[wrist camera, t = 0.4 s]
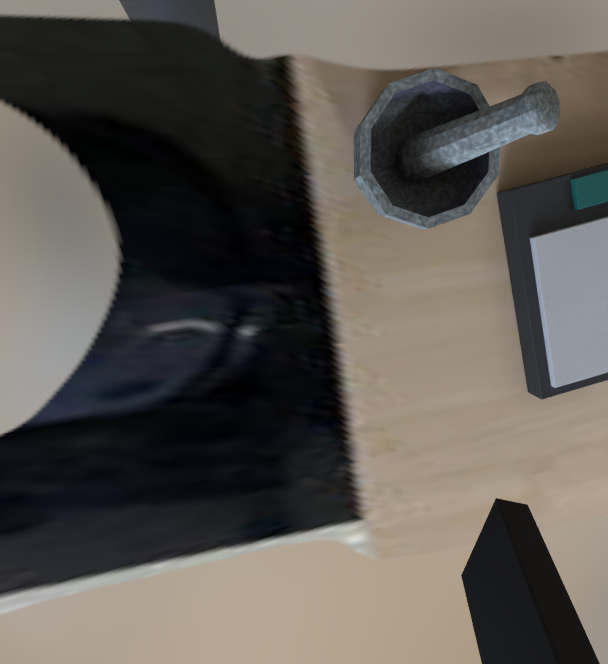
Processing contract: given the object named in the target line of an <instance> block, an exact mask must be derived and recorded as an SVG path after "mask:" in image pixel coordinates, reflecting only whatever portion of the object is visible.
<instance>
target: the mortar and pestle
mask: <svg viewBox="0 0 608 664" xmlns="http://www.w3.org/2000/svg"><path fill="white" fill-rule="evenodd" d="M559 116H560V107H559V100H558V97H557V94H556V91H555V90H554V89H553V88H552V87H551V86H550V85H549V84H548V83H547V82H546V81H543V82H539V83H535V84H533V85H530V86H528V87H527V88H526V90H525V91H524V92H523V94H522V95H519V96H516V97H514V98H511V99H508V100H506V101H503V102H501V103H498V104H495V105H493V106H489V105H488V103H487V101H486V99H485V98H484V96H483V94H482V92H481V91H480V89H479V87H478V85H476V84H474V83H471V82H469V81H466V80H464V79H461V78H459V77H456V76H453V75H451V74H448V73H446V72H443V71H441V70H438V69H436V68H432V69H429V70H426V71H423V72H420V73H417V74H414V75H412V76H409V77H406V78H403V79H400V80H397V81H394V82H391V83H389V84H388V85H387V86H386V87H385V88H384V89H383V91H382V92H381V94H380V95H379V97H378V98H377V100H376V101H375V103H374V104H373V106H372V107H371V108H370V110H369V111H368V113H367V114H366V116H365V117H364V119H363V120H362V122H361V123H360V125H359V126H358V128H357V129H356V132H355V136H354V181H355V182H356V183H357V185H358V186H359V188H360V189H361V191H362V192H363V194H364V195H365V197H366V198H367V200H368V201H369V203H370V204H371V206H372V207H373V208H374V210H375V211H376V213H377V214H379V215H381V216H384V217H387V218H390V219H393V220H396V221H399V222H402V223H405V224H408V225H411V226H414V227H417V228H420V229H428V228H431V227H434V226H437V225H439V224H442V223H445V222H448V221H451V220H454V219H456V218H459V217H462V216H465V215H468V214H470V213H471V212H472V210H473V209H474V208H475V206H476V205H477V203H478V202H479V201H480V199H481V198H482V197H483V195H484V194H485V192H486V191H487V190H488V188H489V187H490V185H491V184H492V183H493V181H494V180H495V179H496V177H497V176H498V166H499V151H500V147H501V146H503V145H506V144H508V143H510V142H513V141H515V140H517V139H520V138H522V137H524V136H526V135H529V134H535V135H540V134H543V133H546V132H548V131H551V130H553V129H554V128H555V127H556V125H557V122H558V119H559Z"/></svg>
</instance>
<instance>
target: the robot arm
mask: <svg viewBox="0 0 608 664" xmlns="http://www.w3.org/2000/svg"><path fill="white" fill-rule="evenodd" d="M462 580H463V584H464V588H465V593H466V597H467V602H468V606H469V610H470V614H471V618H472V623H473V627H474V632H475V636H476V640H477V644H478V649H479V653H480V657H481V661H482V664H599V661H598V659H597V657H596V655H595V652H594V650H593V648H592V646H591V644H590V641H589V639H588V637H587V635H586V633H585V630H584V628H583V626H582V624H581V622H580V620H579V617H578V615H577V613H576V611H575V608H574V606H573V604H572V602H571V600H570V597H569V595H568V593H567V591H566V589H565V586H564V584H563V582H562V580H561V578H560V575H559V573H558V571H557V569H556V567H555V565H554V562H553V560H552V558H551V556H550V553H549V551H548V549H547V547H546V544H545V542H544V540H543V538H542V536H541V533H540V531H539V529H538V527H537V525H536V522H535V520H534V518H533V516H532V514H531V511H530V509H529V507H528V505H526V504H521V503H516V502H511V501H506V500H502V499H497V498H496V500H495V502H494V504H493V506H492V508H491V511H490V513H489V515H488V517H487V520H486V522H485V524H484V526H483V528H482V531H481V533H480V535H479V537H478V540H477V542H476V544H475V546H474V548H473V551H472V553H471V555H470V558H469V560H468V562H467V564H466V567H465V568H464V571H463V573H462Z"/></svg>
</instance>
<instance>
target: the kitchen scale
mask: <svg viewBox="0 0 608 664" xmlns="http://www.w3.org/2000/svg"><path fill="white" fill-rule="evenodd" d="M497 196H498V203H499V209H500V215H501V222H502V228H503V235H504V241H505V247H506V254H507V260H508V266H509V273H510V279H511V285H512V292H513V298H514V305H515V311H516V317H517V324H518V330H519V336H520V343H521V349H522V355H523V362H524V368H525V374H526V381H527V387H528V392H529V393H531V394H533V395H534V396H536V397H538V398H540V399H545V398H548V397H552V396H555V395H558V394H562V393H565V392H568V391H572V390H575V389H579V388H582V387H585V386H589V385H592V384H595V383H599V382H602V381H605V380H608V163H606V164H603V165H599V166H595V167H591V168H588V169H584V170H580V171H576V172H573V173H569V174H565V175H562V176H558V177H554V178H550V179H547V180H543V181H539V182H535V183H532V184H528V185H524V186H521V187H517V188H513V189H509V190H506V191H502V192H498V193H497Z"/></svg>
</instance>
